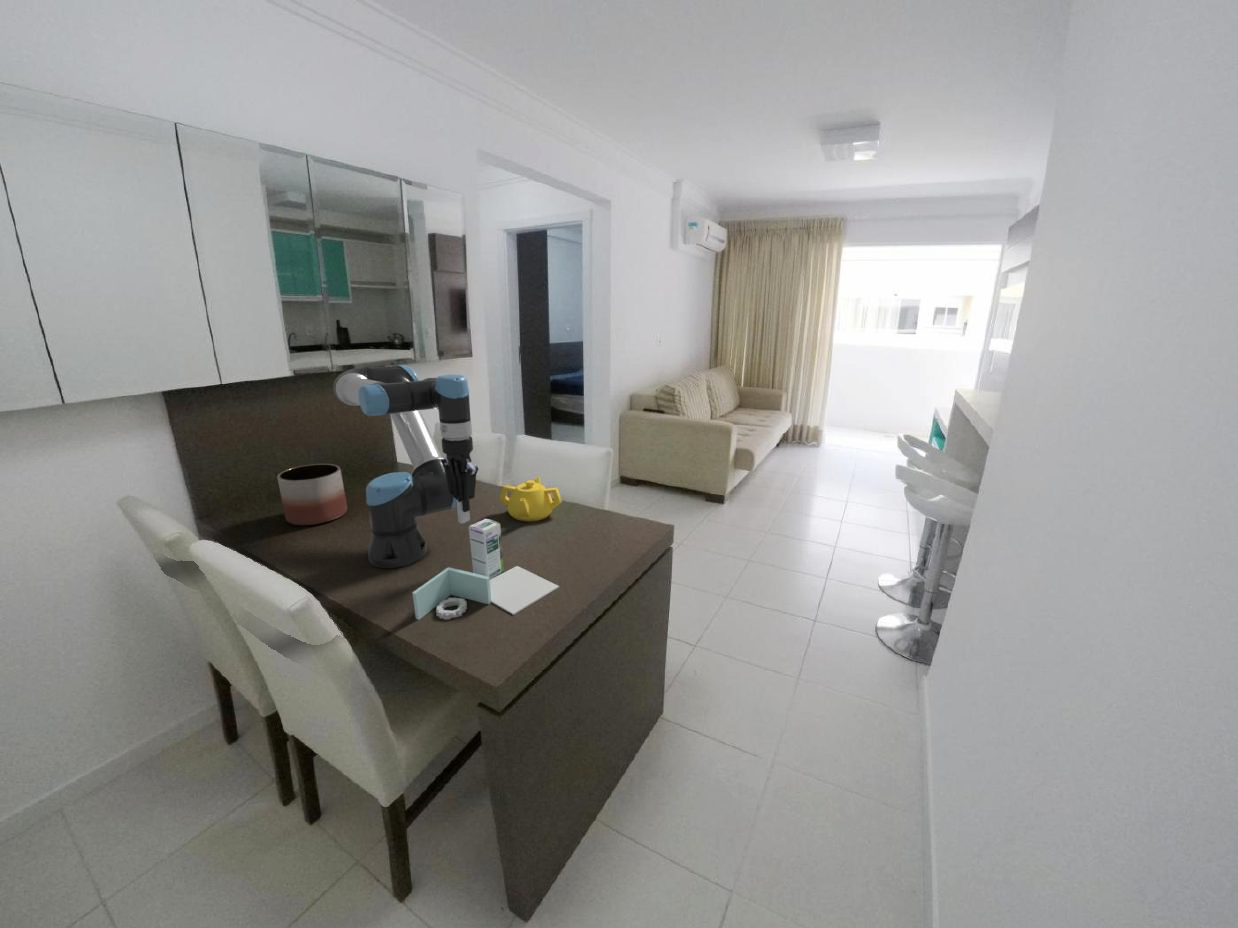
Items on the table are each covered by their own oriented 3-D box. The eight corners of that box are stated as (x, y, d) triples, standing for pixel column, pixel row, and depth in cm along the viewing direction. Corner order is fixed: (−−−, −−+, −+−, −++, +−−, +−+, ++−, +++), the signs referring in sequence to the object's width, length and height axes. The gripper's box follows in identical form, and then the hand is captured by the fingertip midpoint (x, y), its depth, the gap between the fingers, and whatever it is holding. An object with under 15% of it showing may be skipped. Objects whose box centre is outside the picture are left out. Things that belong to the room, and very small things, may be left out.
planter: (291, 532, 150) (281, 485, 145) (282, 514, 162) (272, 470, 157) (354, 517, 161) (346, 473, 156) (340, 501, 174) (333, 460, 169)
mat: (471, 590, 121) (471, 589, 121) (517, 567, 132) (517, 565, 132) (513, 615, 112) (513, 613, 112) (559, 587, 123) (559, 586, 123)
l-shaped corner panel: (416, 621, 110) (412, 592, 108) (451, 593, 121) (448, 567, 118) (459, 633, 106) (456, 604, 104) (491, 604, 117) (489, 576, 114)
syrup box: (488, 581, 125) (484, 530, 121) (472, 574, 128) (468, 524, 124) (504, 571, 130) (501, 522, 125) (488, 565, 133) (484, 517, 128)
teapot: (564, 515, 165) (564, 483, 162) (521, 528, 155) (519, 494, 152) (539, 501, 178) (538, 470, 174) (497, 512, 167) (495, 479, 164)
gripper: (429, 435, 124) (438, 519, 131) (459, 444, 116) (467, 532, 124) (454, 430, 130) (461, 510, 137) (484, 438, 122) (490, 523, 129)
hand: (464, 521), depth 130 cm, fingers closed
